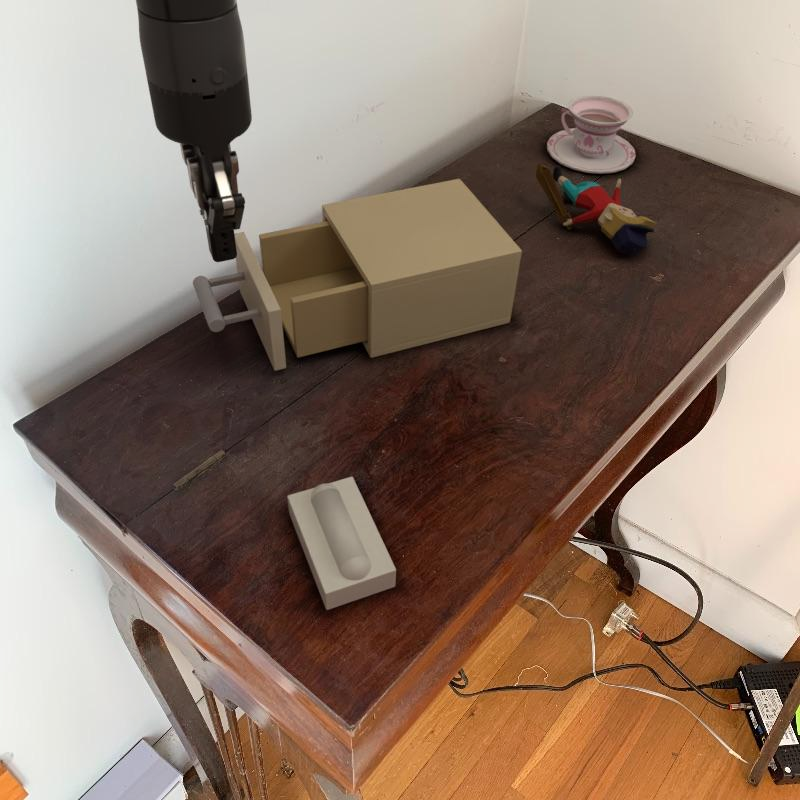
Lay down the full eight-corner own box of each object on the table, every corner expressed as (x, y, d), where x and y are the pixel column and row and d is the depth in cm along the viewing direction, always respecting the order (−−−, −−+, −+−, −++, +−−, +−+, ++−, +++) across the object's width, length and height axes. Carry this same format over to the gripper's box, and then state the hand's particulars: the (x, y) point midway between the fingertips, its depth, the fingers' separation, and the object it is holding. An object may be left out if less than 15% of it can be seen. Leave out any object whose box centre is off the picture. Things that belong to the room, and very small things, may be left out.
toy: (591, 146, 98) (676, 210, 90) (577, 192, 103) (656, 257, 94) (531, 158, 94) (614, 226, 86) (519, 206, 99) (597, 275, 90)
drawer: (223, 384, 75) (212, 324, 70) (193, 302, 83) (181, 243, 78) (414, 336, 81) (417, 277, 75) (368, 264, 89) (368, 206, 84)
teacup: (637, 139, 113) (648, 96, 108) (631, 182, 105) (643, 137, 100) (552, 126, 115) (559, 83, 110) (540, 167, 106) (548, 123, 102)
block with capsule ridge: (395, 586, 62) (397, 560, 59) (326, 610, 60) (324, 585, 57) (352, 493, 68) (352, 466, 65) (288, 513, 66) (285, 486, 64)
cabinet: (370, 358, 79) (371, 284, 73) (325, 276, 88) (321, 204, 82) (510, 322, 84) (522, 250, 77) (453, 248, 93) (459, 178, 86)
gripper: (131, 39, 64) (167, 225, 76) (163, 112, 55) (198, 308, 68) (224, 28, 66) (245, 211, 78) (268, 97, 58) (284, 290, 70)
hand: (223, 256), depth 73 cm, fingers closed
